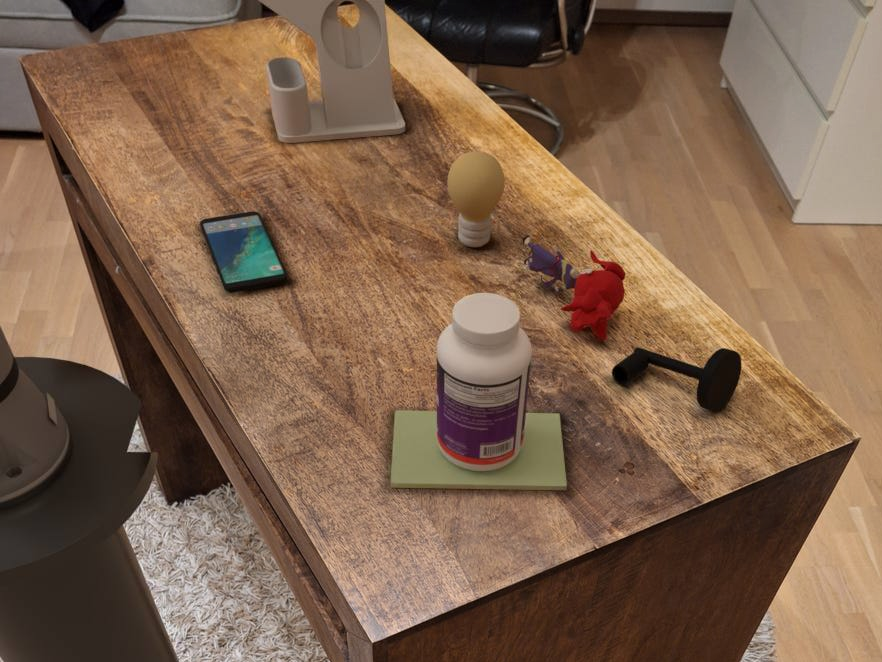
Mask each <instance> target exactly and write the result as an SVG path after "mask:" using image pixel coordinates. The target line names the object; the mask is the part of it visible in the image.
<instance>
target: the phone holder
mask: <svg viewBox="0 0 882 662" xmlns="http://www.w3.org/2000/svg"><path fill="white" fill-rule="evenodd" d="M348 1H349V2H351V3H353V4H354V5H355V6H356V8H357V9H358V13H359V18H358V21H357V22H356V24H355V25H354V26H352V27H346V26H345V25H343V24H342V23H341V22H340V19H339V17H338V9H339V6H340V5H341V4H342V3H344V2H348ZM258 2H260V3H261V4H263V5H264V6H265V7H267V8H268V9H270V10H271V11H273V12H274V13H276V14H277V15H279V16H280V17H281V18H282V19H284V20H285V21H287V23H289V24H290V25H292V26H294V27H295V28H297V29H298V30H299V31H301V32H302V33H304V34H305V35H307V36H308V37H310V39H311V40H312V41H313V43H314V44H315V50H316V57H317V66H318V74H319V81H320V90H321V97H322V99H316V100H315V99H314V100H309V94H308V93H309V92H308V84H307V80H306V77H305V74H304V71H303V67H302V64H301V63H300V61H299V60H297V59H295V58H292V57H287V56H286V57H284V56H282V57H275V58H272V59H270V60H269V61H267V62H266V64H265V72H266V78H267V79H266V80H267V85H268V92H269V93H268V94H269V100H270V106H271V116H272V118H273V124H274V127H275V130H276V135H277V139H278V140H279V141H280V142H281V143H283V144H284V143H285V144H294V143H307V142H318V141H319V142H320V141H321V142H322V141H330V140H331V141H332V140H344V139H355V138H369V137H379V136H380V137H381V136H393V135H400V134H403V133H405V132H406V122H405V120H404V117H403V115H402V112H401V110H400V108H399V106H398V104H397V101H396V99H395V97H394V91H393V78H392V70H391V57H390V45H389V35H388V24H387V23H388V22H387V12H386V1H385V0H258Z"/></svg>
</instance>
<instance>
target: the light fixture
mask: <svg viewBox="0 0 882 662" xmlns="http://www.w3.org/2000/svg"><path fill="white" fill-rule="evenodd" d="M742 364H743V363H742V358H741V355H740V354H739V352H738V351H736V350H732V349H729V348H726V347H722V348H719V349H718V350H715V352H713V353H712V354H711V356H709V358H708V359H707V360H706V363H704V366H703V367H700V366H697V365H694V364H692V363H688V362H684V361H682V360H679V359H675V358H673V357H669V356H666V355H664V354H660V353H657V352H654V351H651V350H648V349H645V348H642V347H638V346H637V347H636V348H635V349H634V350H633V352H632V353H630V354H629V355H628V356H627V357H625V358H624V359H622V360H621V361H620V362H618V363H617V364H616V365H614V366H613V367H612V369H611V376H612V378H610V380H611V379H613V382H612V384H614V383H616V384H618V385H619V386H621V387H626V386H628V385H629V384H630V383H631V382H633V381H634V380H635V379H636V378H638V377H639V376H641V375H642V374H643V373H645V372H646V371H647V370H648V369H649V365H653V366H655V367H658V368H661V369H665V370H668V371H671V372H674V373H677V374H680V375H682V376H685V377H689V378H692V379H695V380H698V382H697V387H696V401H697V404H698V406H699V407H700V408H702V409H704V410H706V411H708V412H709V411H710V412H712V413H714V412H715V413H716V412H719V411H720V410H722V409H723V408H724V407H725V406H726V405H727V404H728V403H729V401H730V400H731V398H733V395H734V393H735V391H736V389H737V387H738V384H739V381H740V379H741V378H740V377H741V373H742ZM612 384H611V385H610V386H612ZM610 386H609V387H610ZM600 387H602V385H601V386H599V388H600ZM607 388H608V387H607ZM607 388H606V389H607ZM606 389H605V390H606ZM593 392H594V391H593ZM593 392H592V393H593ZM592 393H591V394H592ZM588 399H589V400H590V397H588Z"/></svg>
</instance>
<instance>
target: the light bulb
mask: <svg viewBox="0 0 882 662" xmlns="http://www.w3.org/2000/svg"><path fill="white" fill-rule="evenodd" d="M446 183H447V184H446V185H447V192H448V195H449V198H450V200H451V202H452V203H453V205H454V206H455V207H456V209H457V210H458V211H459V214H458V225H457V226H458V227H457V229H458V233H457V237H458V240H459V241H460V243H462V244H463V245H464V246H466V247H470V248H480V247H483V246H484V245H487V244H488V243H489V241H490V239H491V227H492V225H491V222H492V216H491V213H492V212H493V211H494V210H495V208H496V207H497V206H498V204H499V203H500V202H501V200H502V197H503V195H504V192H505V186H506V185H505V184H506V182H505V173H504V170H503V168H502V166H501V164H500V162H499V160H497V158H495V156H493V155H491V154H489V153H486V152H483V151H476V150H473V151H467V152H464V153H462V154H461V155H459V156H458V157H457V158H456V159H455V160H454V161H453V163H452V165H451V166H450V169H449V171H448V175H447V181H446Z"/></svg>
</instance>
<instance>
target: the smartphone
mask: <svg viewBox="0 0 882 662" xmlns="http://www.w3.org/2000/svg"><path fill="white" fill-rule="evenodd" d="M199 226H200V228H201V231H202V234H203V237H204V239H205V242H206V245H207V247H208V250H209V252H210V255H211V259H212V261H213V264H214V266H215V268H216V273H217V275H218V277H219V279H220V282H221V284H222V287H223V289H224V291H225V292H226V293H229V294H233V293H238V292H239V293H240V292H244V291H245V292H246V291H250V290H256V289H263V288H266V287H272V286H277V285H282V284H283V285H284V284H286V283H287V282H288V280H289V275H288V273H287V270H286V269H285V266H284V264H283V261H282V260H281V257H280V255H279V253H278V251H277V249H276V247H275V244H274V241H273V240H272V238H271V236H270V233H269V230H268V229H267V227H266V224H265V222H264V220H263V217H262V216H261V213H259V212H258V211H245V212H239V213H232V214H227V215H221V216H214V217H208V218H204V219H203V218H202V219H201V220H200V221H199Z"/></svg>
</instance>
